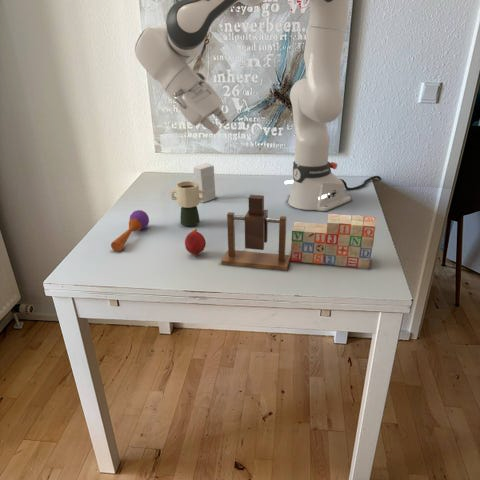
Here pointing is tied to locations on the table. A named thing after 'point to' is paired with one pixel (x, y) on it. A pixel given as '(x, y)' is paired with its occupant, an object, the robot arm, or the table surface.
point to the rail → (256, 258)
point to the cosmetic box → (205, 180)
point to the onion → (195, 242)
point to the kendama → (131, 228)
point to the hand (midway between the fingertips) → (222, 127)
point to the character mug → (188, 201)
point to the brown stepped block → (256, 223)
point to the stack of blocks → (334, 241)
